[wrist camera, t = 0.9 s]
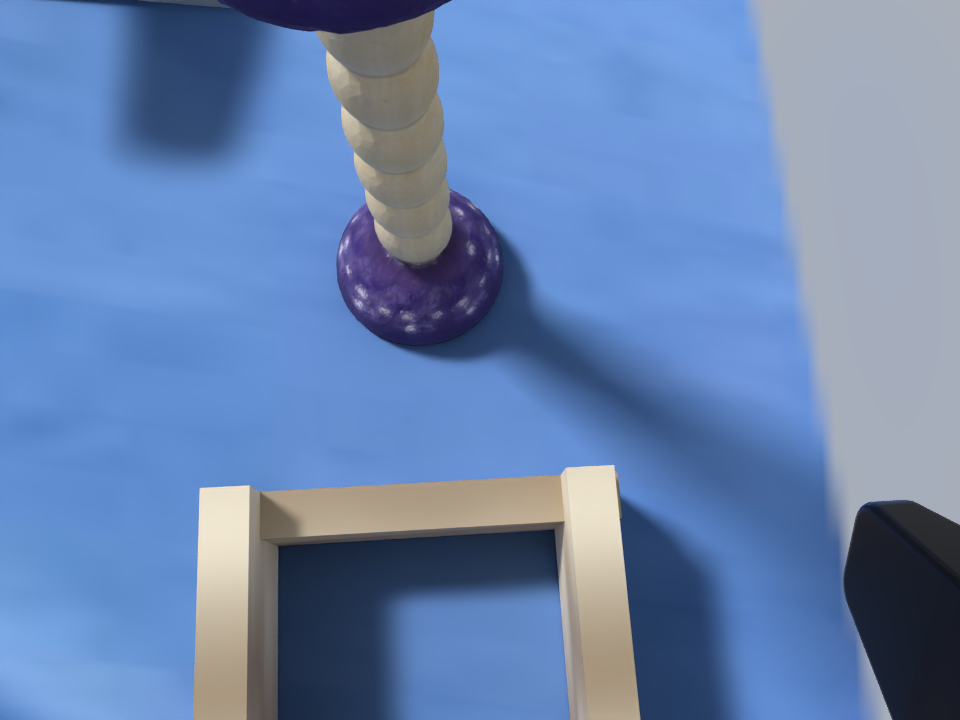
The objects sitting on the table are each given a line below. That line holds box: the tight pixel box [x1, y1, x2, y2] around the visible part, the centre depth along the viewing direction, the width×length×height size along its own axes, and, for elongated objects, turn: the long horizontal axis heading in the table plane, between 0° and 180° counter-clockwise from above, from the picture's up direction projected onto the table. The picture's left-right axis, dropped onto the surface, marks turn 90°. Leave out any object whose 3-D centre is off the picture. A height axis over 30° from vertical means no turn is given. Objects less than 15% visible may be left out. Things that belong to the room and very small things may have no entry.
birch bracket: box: [193, 465, 640, 720], centre depth 17 cm, size 8×9×5 cm
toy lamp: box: [218, 0, 503, 345], centre depth 14 cm, size 5×5×17 cm
